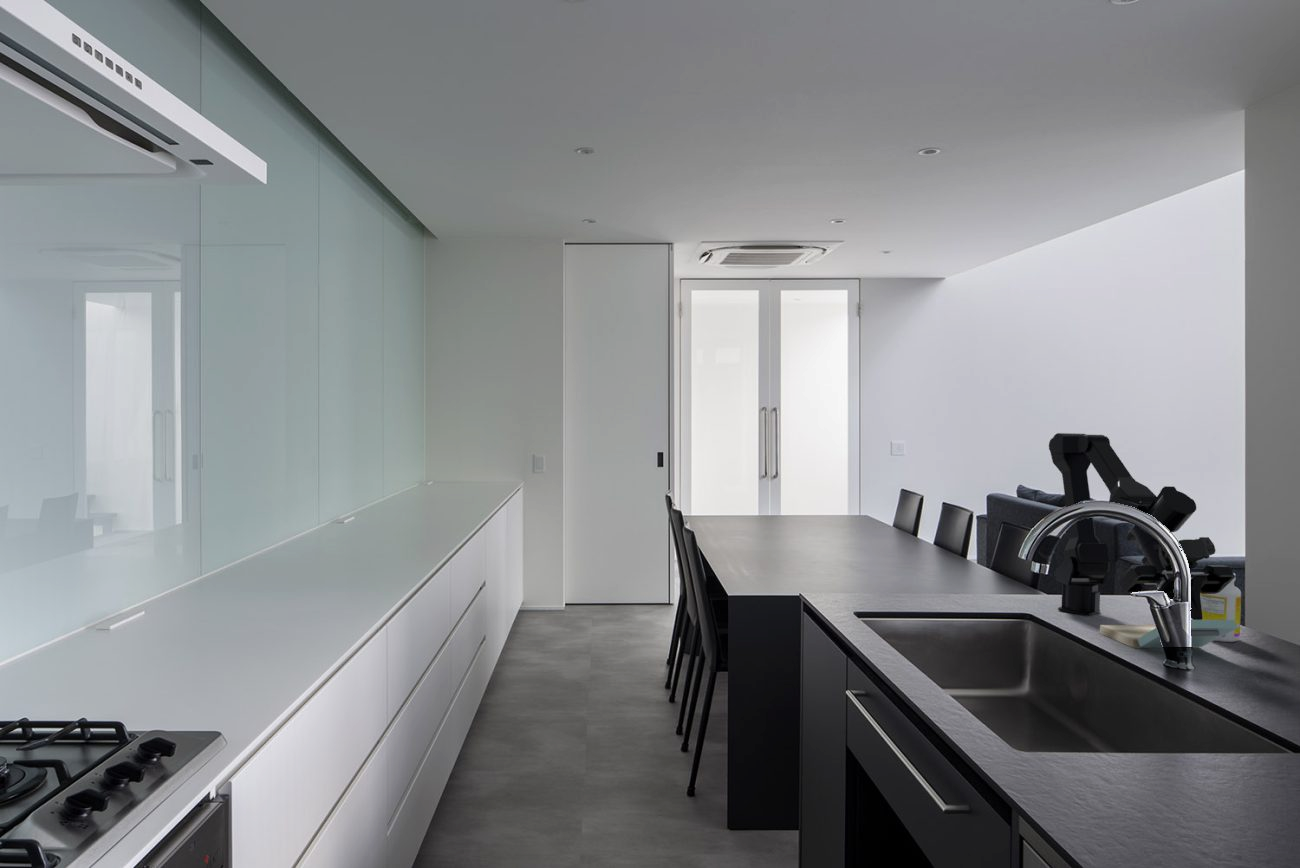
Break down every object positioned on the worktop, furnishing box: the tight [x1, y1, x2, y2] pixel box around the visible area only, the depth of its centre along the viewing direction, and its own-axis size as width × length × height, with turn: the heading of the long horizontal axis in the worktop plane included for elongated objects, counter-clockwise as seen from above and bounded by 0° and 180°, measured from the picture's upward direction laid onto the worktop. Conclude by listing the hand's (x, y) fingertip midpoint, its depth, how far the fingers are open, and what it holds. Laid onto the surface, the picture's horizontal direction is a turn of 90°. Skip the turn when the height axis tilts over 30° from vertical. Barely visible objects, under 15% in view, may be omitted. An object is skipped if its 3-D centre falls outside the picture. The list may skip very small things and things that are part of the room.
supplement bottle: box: [1200, 572, 1242, 643], centre depth 162 cm, size 7×7×13 cm
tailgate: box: [1137, 619, 1238, 648], centre depth 150 cm, size 2×12×10 cm
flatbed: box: [1099, 624, 1200, 649], centre depth 160 cm, size 10×13×2 cm
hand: (1199, 619), depth 147 cm, fingers closed
